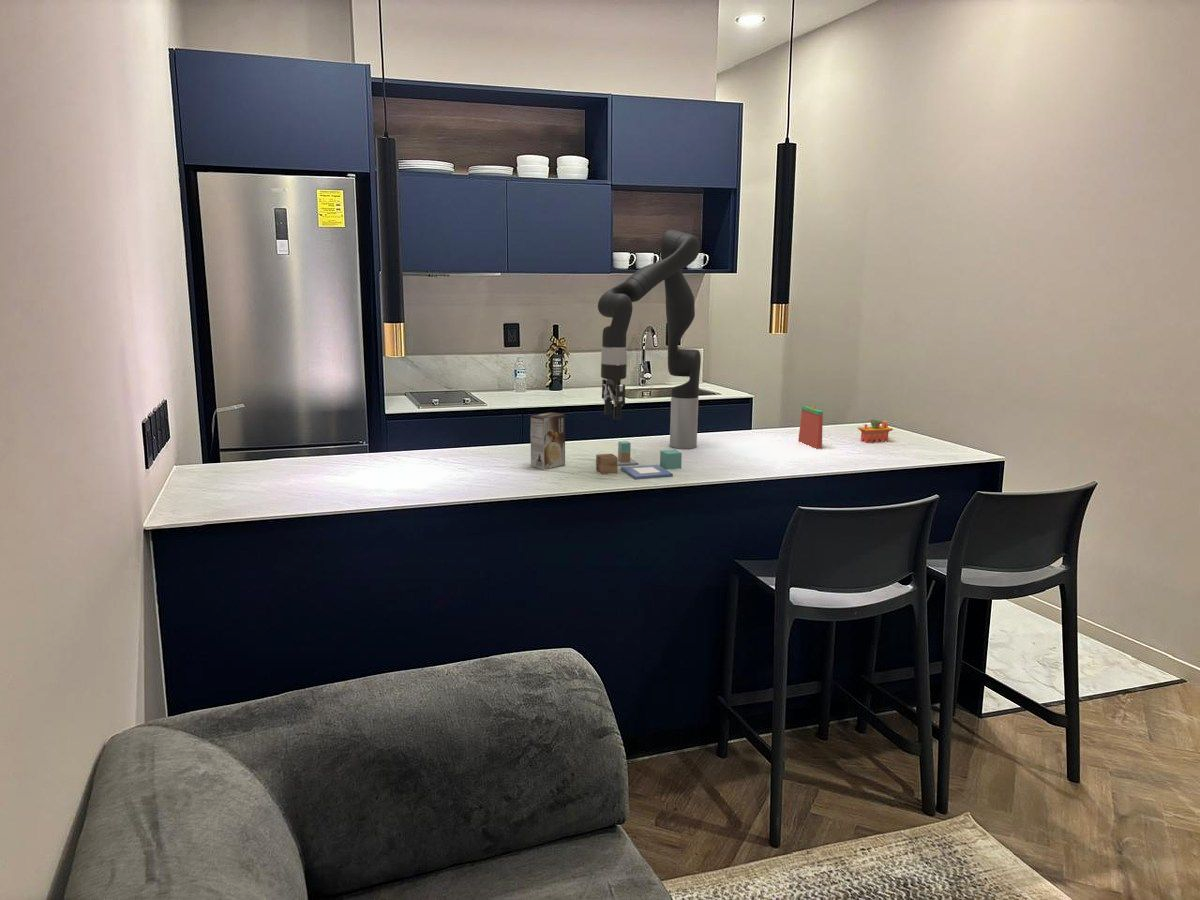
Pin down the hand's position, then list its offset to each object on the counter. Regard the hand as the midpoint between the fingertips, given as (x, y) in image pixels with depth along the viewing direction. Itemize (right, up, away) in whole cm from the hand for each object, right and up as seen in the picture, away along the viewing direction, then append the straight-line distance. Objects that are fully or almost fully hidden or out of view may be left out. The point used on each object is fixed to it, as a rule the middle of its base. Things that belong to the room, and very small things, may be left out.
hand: (612, 416), depth 259 cm
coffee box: (-20, -15, +10) cm, 27 cm away
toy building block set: (+85, -8, +49) cm, 98 cm away
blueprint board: (+10, -17, +3) cm, 20 cm away
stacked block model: (+4, -14, +15) cm, 21 cm away
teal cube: (+18, -15, +10) cm, 26 cm away
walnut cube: (-2, -17, +4) cm, 17 cm away
